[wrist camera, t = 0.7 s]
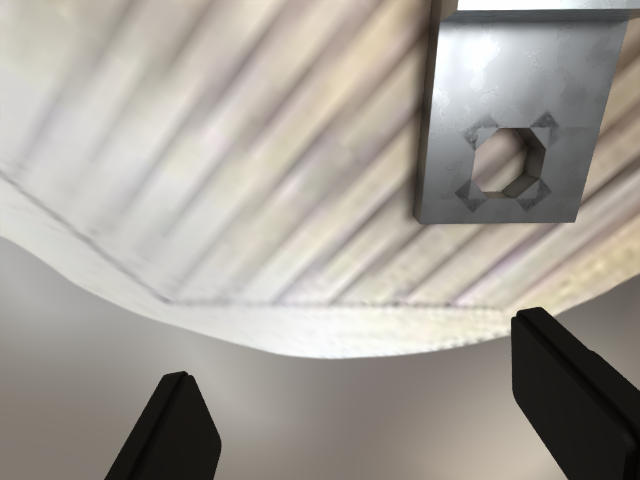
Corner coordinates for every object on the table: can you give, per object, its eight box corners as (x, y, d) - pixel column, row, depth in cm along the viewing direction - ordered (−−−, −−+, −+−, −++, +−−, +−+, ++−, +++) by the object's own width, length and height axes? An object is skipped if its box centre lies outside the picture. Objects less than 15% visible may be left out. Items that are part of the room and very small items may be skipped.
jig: (434, -23, 31) (465, -58, 24) (614, -25, 31) (693, -59, 25) (412, 215, 39) (431, 237, 32) (556, 214, 39) (604, 236, 32)
